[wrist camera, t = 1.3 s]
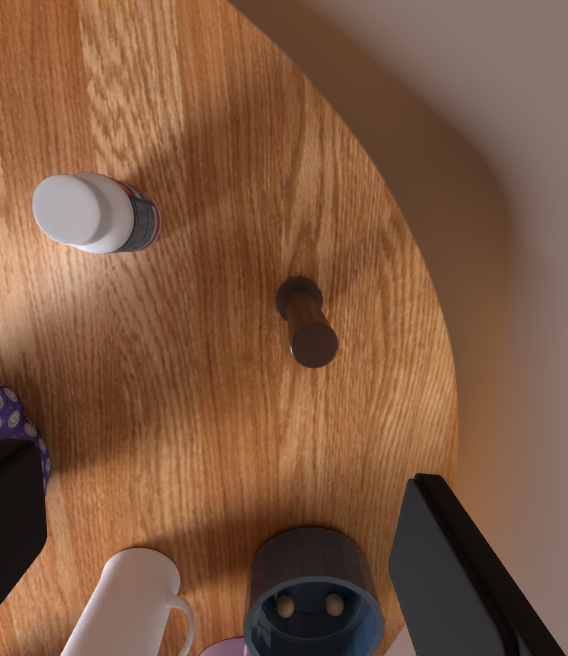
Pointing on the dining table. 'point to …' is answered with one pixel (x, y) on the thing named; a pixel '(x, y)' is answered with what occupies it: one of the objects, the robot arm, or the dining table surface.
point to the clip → (228, 648)
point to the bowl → (312, 597)
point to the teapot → (21, 427)
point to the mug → (130, 607)
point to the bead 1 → (285, 606)
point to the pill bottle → (96, 213)
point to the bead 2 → (334, 604)
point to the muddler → (306, 322)
